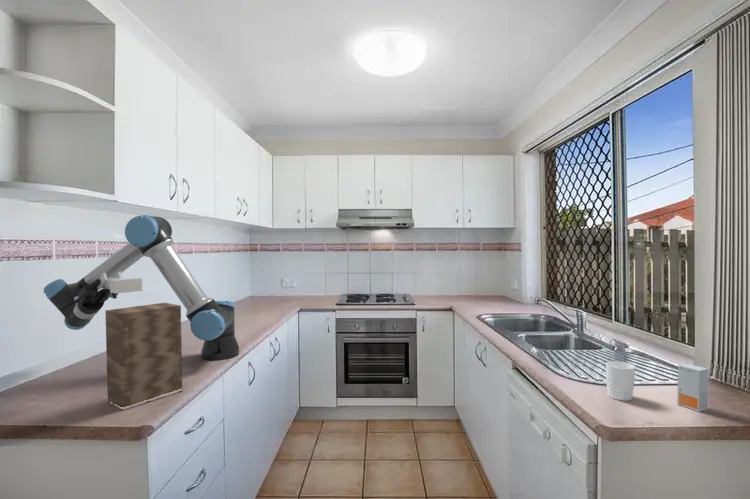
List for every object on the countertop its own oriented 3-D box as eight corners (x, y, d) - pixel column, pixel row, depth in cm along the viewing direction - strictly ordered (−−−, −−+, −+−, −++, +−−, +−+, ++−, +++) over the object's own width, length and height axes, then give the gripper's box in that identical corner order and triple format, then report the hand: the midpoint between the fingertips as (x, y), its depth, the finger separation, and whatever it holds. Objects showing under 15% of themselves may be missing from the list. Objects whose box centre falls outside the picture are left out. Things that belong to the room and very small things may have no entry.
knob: (91, 289, 143) (91, 277, 143) (117, 287, 149) (117, 276, 149) (115, 293, 132) (115, 280, 132) (142, 290, 139) (141, 278, 139)
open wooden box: (166, 385, 143) (164, 302, 142) (182, 391, 137) (180, 305, 136) (107, 402, 128) (105, 310, 127) (122, 410, 122) (120, 314, 121)
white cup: (608, 390, 137) (608, 359, 136) (636, 396, 132) (637, 364, 131) (602, 397, 131) (603, 365, 130) (632, 403, 126) (633, 370, 125)
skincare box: (676, 404, 125) (677, 364, 124) (685, 402, 127) (686, 362, 126) (699, 412, 119) (700, 370, 119) (708, 410, 121) (709, 368, 121)
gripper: (116, 311, 160) (142, 283, 148) (63, 318, 146) (86, 288, 134) (111, 293, 162) (136, 264, 150) (59, 298, 148) (81, 267, 136)
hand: (113, 275), depth 142 cm, fingers closed on knob, 4 cm apart
